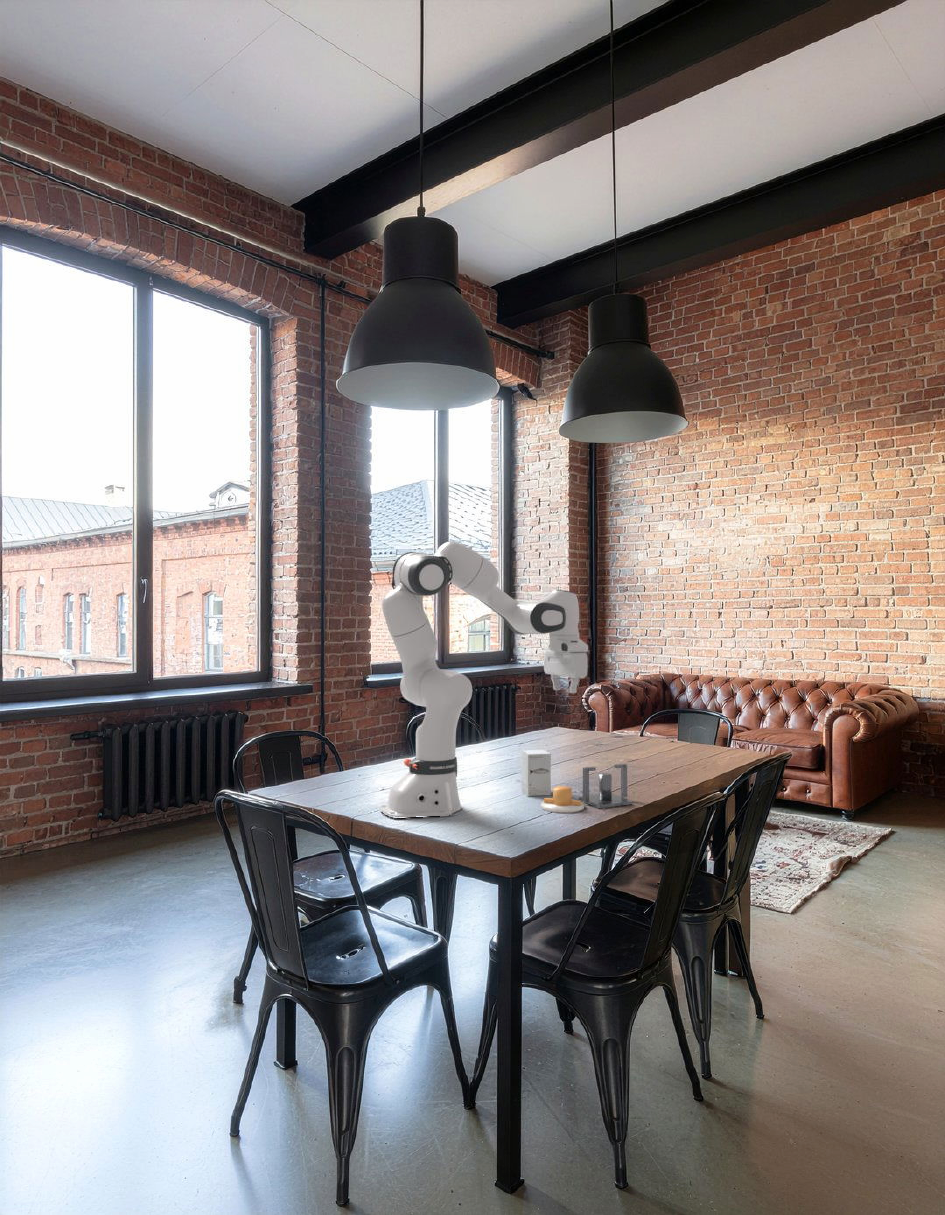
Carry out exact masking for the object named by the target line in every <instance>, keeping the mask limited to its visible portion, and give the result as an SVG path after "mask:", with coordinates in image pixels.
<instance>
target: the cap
mask: <svg viewBox="0 0 945 1215" xmlns="http://www.w3.org/2000/svg"><path fill="white" fill-rule="evenodd" d="M572 789H573V788H572V786H571V787H570V786H567V785H566V786H565V785H556V786H554V787H553V788H552V797H545V798H543V801H544V803H553V804H554V805H557V806H569V805H581V802H582V801H580V800H579V799H578V800H577V799H573V794H572V793H573V790H572ZM572 799H573V800H572Z"/></svg>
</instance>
